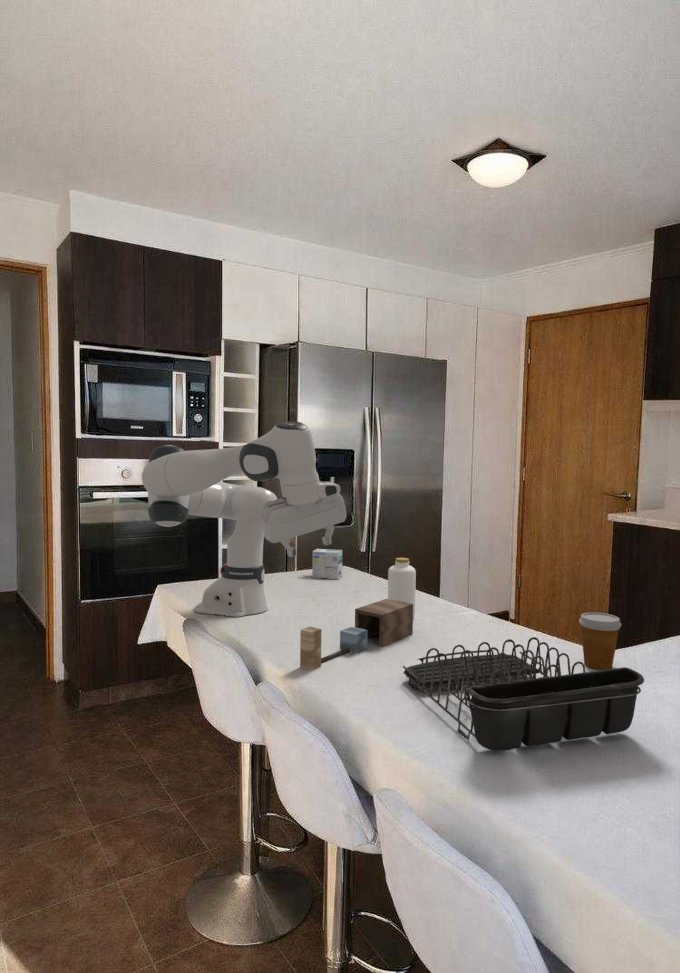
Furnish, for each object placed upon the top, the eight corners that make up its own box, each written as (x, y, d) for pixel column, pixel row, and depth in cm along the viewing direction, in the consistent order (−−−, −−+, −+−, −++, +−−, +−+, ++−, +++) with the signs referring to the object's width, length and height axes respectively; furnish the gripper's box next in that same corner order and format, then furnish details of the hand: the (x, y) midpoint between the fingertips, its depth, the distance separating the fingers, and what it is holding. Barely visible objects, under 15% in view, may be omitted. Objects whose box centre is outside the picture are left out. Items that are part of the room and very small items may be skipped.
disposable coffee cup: (618, 662, 164) (620, 614, 164) (620, 674, 155) (622, 624, 155) (577, 657, 168) (578, 610, 167) (577, 669, 159) (579, 620, 158)
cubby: (382, 646, 174) (383, 614, 173) (354, 640, 179) (355, 608, 179) (412, 634, 186) (413, 603, 185) (385, 628, 191) (386, 598, 191)
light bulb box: (342, 576, 263) (343, 549, 262) (338, 580, 256) (338, 552, 256) (316, 575, 265) (316, 548, 265) (311, 578, 259) (312, 550, 258)
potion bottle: (414, 614, 207) (415, 556, 206) (415, 621, 199) (416, 561, 198) (387, 613, 208) (388, 555, 207) (387, 620, 200) (388, 560, 198)
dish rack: (483, 769, 110) (485, 697, 109) (387, 677, 153) (388, 625, 152) (652, 744, 120) (655, 679, 119) (518, 664, 162) (520, 616, 161)
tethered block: (313, 671, 155) (314, 632, 154) (297, 666, 158) (298, 629, 158) (367, 649, 172) (367, 614, 171) (351, 645, 175) (352, 611, 174)
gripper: (266, 506, 144) (276, 566, 147) (345, 484, 154) (353, 540, 157) (254, 501, 149) (264, 559, 152) (331, 480, 159) (339, 535, 162)
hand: (310, 549), depth 155 cm, fingers open, 8 cm apart
